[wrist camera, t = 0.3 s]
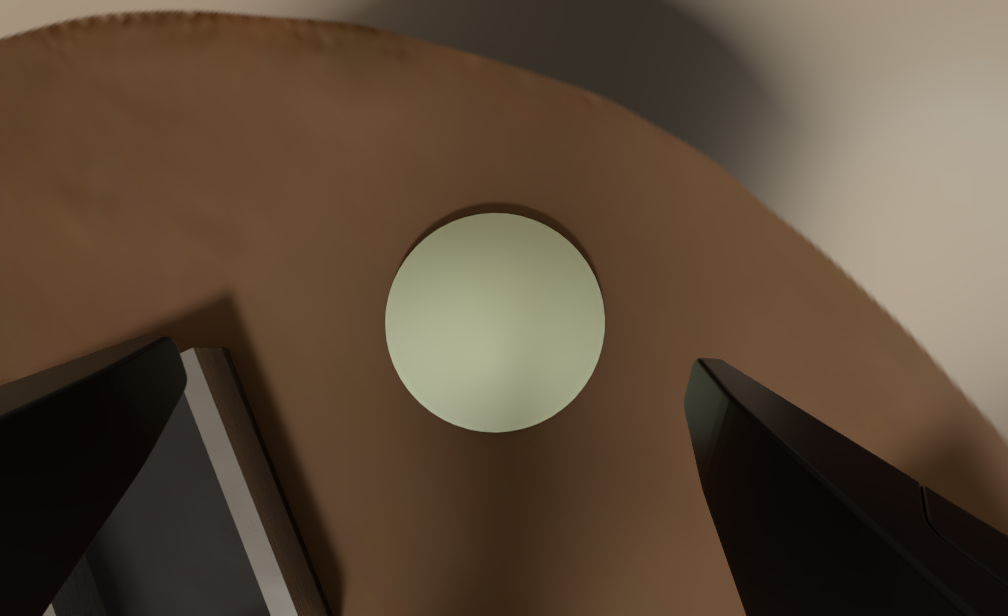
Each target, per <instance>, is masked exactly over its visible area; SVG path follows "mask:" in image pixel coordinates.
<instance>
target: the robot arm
mask: <svg viewBox="0 0 1008 616" xmlns="http://www.w3.org/2000/svg"><path fill="white" fill-rule="evenodd" d="M186 385H187V373H186V370H185V367H184V364H183V361H182V358H181V355H180V352H179V349H178V345H177V343H176V341H175V340H174V339H173V338H172V337H170V336H162V335H145V336H141V337H138V338H135V339H133V340H130V341H127V342H124V343H121V344H118V345H115V346H113V347H110V348H107V349H104V350H101V351H98V352H95V353H93V354H90V355H87V356H84V357H81V358H78V359H76V360H73V361H70V362H67V363H64V364H61V365H58V366H56V367H53V368H50V369H47V370H44V371H41V372H38V373H36V374H33V375H30V376H27V377H24V378H21V379H19V380H16V381H13V382H10V383H7V384H4V385H1V386H0V616H43V615H44V613H45V612H46V610H47V609H48V607H49V606H50V604H51V603H52V601H53V600H54V598H55V597H56V595H57V594H58V592H59V591H60V589H61V588H62V586H63V585H64V583H65V582H66V580H67V579H68V578H69V576H70V575H71V573H72V572H73V570H74V569H75V567H76V566H77V564H78V563H79V561H80V560H81V558H82V557H83V555H84V554H85V552H86V551H87V549H88V548H89V546H90V545H91V543H92V542H93V540H94V539H95V537H96V536H97V535H98V533H99V532H100V530H101V529H102V527H103V526H104V524H105V523H106V521H107V520H108V518H109V517H110V515H111V514H112V512H113V511H114V509H115V508H116V506H117V505H118V503H119V502H120V500H121V499H122V497H123V496H124V494H125V493H126V492H127V490H128V489H129V487H130V486H131V484H132V483H133V481H134V480H135V478H136V477H137V475H138V474H139V472H140V470H141V469H142V467H143V466H144V464H145V463H146V461H147V459H148V457H149V456H150V454H151V452H152V450H153V448H154V447H155V445H156V443H157V441H158V439H159V437H160V435H161V434H162V432H163V430H164V428H165V426H166V424H167V422H168V420H169V419H170V417H171V415H172V413H173V411H174V409H175V407H176V406H177V404H178V402H179V400H180V398H181V396H182V394H183V393H184V391H185V388H186ZM684 409H685V414H686V419H687V423H688V428H689V432H690V437H691V441H692V446H693V450H694V455H695V459H696V464H697V468H698V473H699V477H700V481H701V485H702V489H703V492H704V495H705V498H706V502H707V505H708V507H709V510H710V513H711V516H712V519H713V522H714V525H715V527H716V530H717V533H718V536H719V539H720V542H721V545H722V547H723V550H724V553H725V556H726V559H727V562H728V565H729V567H730V570H731V573H732V576H733V579H734V582H735V585H736V587H737V590H738V593H739V596H740V599H741V602H742V605H743V607H744V610H745V613H746V616H1008V536H1007V535H1005V534H1004V533H1002V532H1000V531H998V530H997V529H995V528H993V527H992V526H990V525H988V524H987V523H985V522H983V521H982V520H980V519H978V518H977V517H975V516H973V515H972V514H970V513H968V512H967V511H965V510H963V509H962V508H960V507H959V506H957V505H955V504H954V503H952V502H950V501H949V500H947V499H946V498H944V497H942V496H941V495H939V494H938V493H936V492H934V491H933V490H931V489H930V488H928V487H926V486H922V487H921V486H920V483H919V482H918V481H916V480H915V479H913V478H912V477H910V476H908V475H907V474H905V473H904V472H902V471H900V470H899V469H897V468H895V467H894V466H892V465H891V464H889V463H887V462H886V461H884V460H883V459H881V458H879V457H878V456H876V455H874V454H873V453H871V452H870V451H868V450H866V449H865V448H863V447H862V446H860V445H858V444H857V443H855V442H853V441H852V440H850V439H849V438H847V437H845V436H844V435H842V434H841V433H839V432H837V431H836V430H834V429H833V428H831V427H829V426H828V425H826V424H824V423H823V422H821V421H820V420H818V419H816V418H815V417H813V416H812V415H810V414H808V413H807V412H805V411H803V410H802V409H800V408H799V407H797V406H795V405H794V404H792V403H791V402H789V401H787V400H786V399H784V398H782V397H781V396H779V395H778V394H776V393H774V392H773V391H771V390H770V389H768V388H766V387H765V386H763V385H762V384H760V383H758V382H757V381H755V380H753V379H752V378H750V377H749V376H747V375H745V374H744V373H742V372H741V371H739V370H737V369H736V368H734V367H733V366H731V365H729V364H728V363H726V362H724V361H723V360H720V359H706V358H699V359H697V360H696V361H695V362H694V364H693V366H692V369H691V373H690V377H689V381H688V385H687V390H686V394H685V398H684Z"/></svg>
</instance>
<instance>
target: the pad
mask: <svg viewBox="0 0 1008 616" xmlns="http://www.w3.org/2000/svg"><path fill="white" fill-rule="evenodd" d="M385 328H386V339H387V344H388V349H389V353H390V356H391V359H392V362H393V365H394V367H395V369H396V371H397V373H398V375H399V377H400V379H401V380H402V382H403V383H404V385H405V386H406V388H407V389H408V390H409V392H410V393H411V394H412V395H413V396H414V397H415V398H416V399H417V401H418V402H420V403H421V404H422V405H423V406H424V407H425V408H427V409H428V410H429V411H430V412H432V413H433V414H435V415H437V416H438V417H440V418H441V419H443V420H445V421H447V422H450V423H452V424H454V425H457V426H460V427H463V428H466V429H470V430H475V431H481V432H508V431H515V430H519V429H524V428H527V427H530V426H533V425H535V424H538V423H541V422H542V421H544V420H546V419H548V418H550V417H552V416H554V415H555V414H556V413H558V412H559V411H561V410H562V409H563V408H565V407H566V406H567V405H568V404H569V403H570V402H571V401H572V400H573V399H574V398H575V397H576V396H577V395H578V394H579V392H580V391H581V390H582V389H583V388H584V386H585V385H586V383H587V381H588V380H589V378H590V377H591V375H592V373H593V371H594V369H595V367H596V364H597V362H598V359H599V356H600V353H601V349H602V345H603V339H604V333H605V314H604V305H603V300H602V296H601V292H600V288H599V286H598V283H597V281H596V278H595V276H594V274H593V272H592V270H591V268H590V267H589V265H588V263H587V262H586V260H585V259H584V258H583V256H582V255H581V254H580V252H579V251H578V250H577V249H576V248H575V247H574V246H573V245H572V244H571V243H570V242H569V241H568V240H567V239H565V238H564V237H563V236H562V235H561V234H559V233H558V232H556V231H555V230H553V229H551V228H550V227H548V226H546V225H544V224H542V223H540V222H537V221H535V220H533V219H529V218H526V217H523V216H519V215H513V214H507V213H486V214H477V215H473V216H468V217H464V218H461V219H458V220H456V221H453V222H450V223H449V224H447V225H445V226H443V227H441V228H439V229H437V230H436V231H434V232H433V233H432V234H430V235H429V236H427V237H426V238H425V239H424V240H423V241H422V242H421V243H419V244H418V245H417V246H416V247H415V248H414V250H413V251H412V252H411V253H410V254H409V255H408V257H407V258H406V260H405V261H404V263H403V264H402V266H401V267H400V269H399V271H398V273H397V275H396V277H395V279H394V281H393V284H392V287H391V290H390V293H389V297H388V302H387V307H386V319H385Z"/></svg>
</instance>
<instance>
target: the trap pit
mask: <svg viewBox="0 0 1008 616" xmlns="http://www.w3.org/2000/svg"><path fill="white" fill-rule="evenodd" d="M180 355H181V358H182V361H183V364H184V367H185V370H186V373H187V385H186V388H185V391H184V393H183V394H182V396H181V398H180V400H179V402H178V404H177V406H176V407H175V409H174V411H173V413H172V415H171V417H170V419H169V420H168V422H167V424H166V426H165V428H164V430H163V432H162V434H161V435H160V437H159V439H158V441H157V443H156V445H155V447H154V448H153V450H152V452H151V454H150V456H149V457H148V459H147V461H146V463H145V464H144V466H143V467H142V469H141V470H140V472H139V474H138V475H137V477H136V478H135V480H134V481H133V483H132V484H131V486H130V487H129V489H128V490H127V492H126V493H125V494H124V496H123V497H122V499H121V500H120V502H119V503H118V505H117V506H116V508H115V509H114V511H113V512H112V514H111V515H110V517H109V518H108V520H107V521H106V523H105V524H104V526H103V527H102V529H101V530H100V532H99V533H98V535H97V536H96V537H95V539H94V540H93V542H92V543H91V545H90V546H89V548H88V549H87V551H86V552H85V554H84V555H83V557H82V558H81V560H80V561H79V563H78V564H77V566H76V567H75V569H74V570H73V572H72V573H71V575H70V576H69V578H68V579H67V580H66V582H65V583H64V585H63V586H62V588H61V589H60V591H59V592H58V594H57V595H56V597H55V598H54V600H53V601H52V603H51V604H50V606H49V607H48V609H47V610H46V612H45V613H44V615H43V616H333V615H332V613H331V610H330V608H329V605H328V603H327V600H326V598H325V595H324V593H323V590H322V588H321V585H320V583H319V580H318V578H317V575H316V573H315V570H314V567H313V565H312V562H311V560H310V557H309V555H308V552H307V550H306V547H305V545H304V542H303V540H302V537H301V535H300V532H299V530H298V527H297V525H296V522H295V520H294V517H293V515H292V512H291V510H290V507H289V505H288V502H287V499H286V497H285V494H284V492H283V489H282V487H281V484H280V482H279V479H278V477H277V474H276V472H275V469H274V467H273V464H272V462H271V459H270V457H269V454H268V452H267V449H266V447H265V444H264V442H263V439H262V437H261V434H260V431H259V429H258V426H257V424H256V421H255V419H254V416H253V414H252V411H251V409H250V406H249V404H248V401H247V399H246V396H245V394H244V391H243V389H242V386H241V384H240V381H239V379H238V376H237V374H236V371H235V369H234V366H233V363H232V361H231V358H230V356H229V353H228V351H227V348H191V349H189V350H187V351H184V352H182V353H180Z"/></svg>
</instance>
